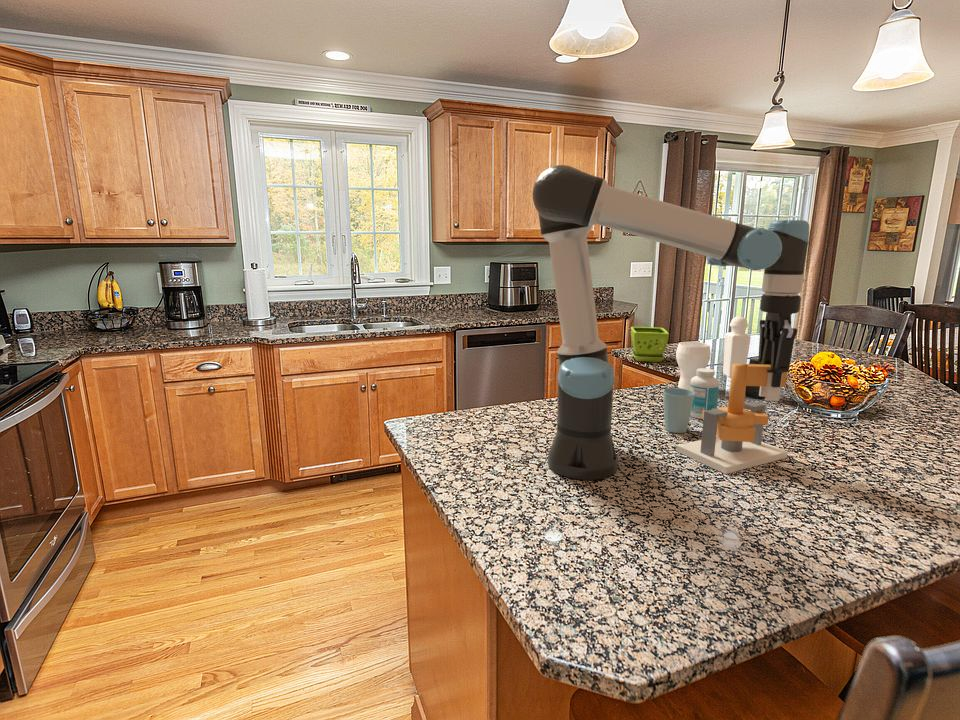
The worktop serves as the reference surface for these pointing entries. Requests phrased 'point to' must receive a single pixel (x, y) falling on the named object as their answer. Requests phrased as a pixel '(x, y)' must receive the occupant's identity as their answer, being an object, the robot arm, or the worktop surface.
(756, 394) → the supplement bottle
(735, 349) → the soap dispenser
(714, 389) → the pill bottle
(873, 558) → the worktop surface
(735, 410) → the lever handle
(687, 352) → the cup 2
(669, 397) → the cup
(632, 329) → the flower pot
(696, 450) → the base
